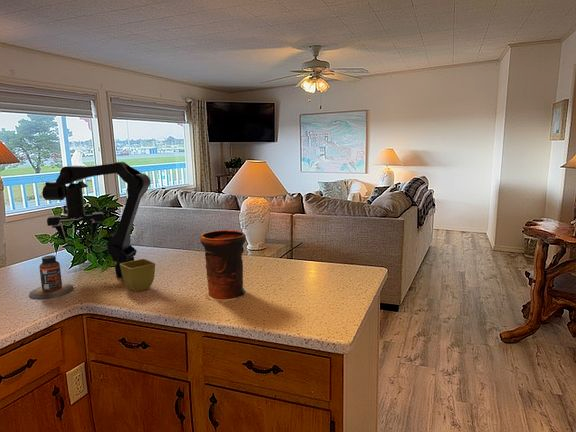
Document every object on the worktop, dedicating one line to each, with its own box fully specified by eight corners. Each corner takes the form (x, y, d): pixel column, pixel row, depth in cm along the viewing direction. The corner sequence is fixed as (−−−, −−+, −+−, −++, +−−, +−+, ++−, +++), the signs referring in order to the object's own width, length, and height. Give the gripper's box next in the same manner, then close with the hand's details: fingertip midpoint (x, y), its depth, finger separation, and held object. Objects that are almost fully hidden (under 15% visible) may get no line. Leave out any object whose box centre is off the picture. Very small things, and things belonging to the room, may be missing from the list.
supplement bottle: (49, 293, 133) (45, 260, 131) (38, 290, 136) (33, 258, 134) (66, 287, 139) (62, 255, 136) (55, 285, 141) (51, 253, 139)
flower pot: (146, 282, 145) (144, 258, 143) (157, 288, 139) (155, 262, 137) (121, 289, 139) (119, 263, 137) (132, 295, 133) (130, 268, 131)
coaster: (74, 282, 146) (74, 280, 146) (72, 294, 134) (72, 292, 134) (32, 288, 141) (31, 286, 140) (26, 301, 129) (26, 299, 129)
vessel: (198, 289, 137) (196, 231, 133) (239, 283, 142) (238, 227, 139) (207, 304, 124) (205, 240, 120) (252, 298, 129) (251, 236, 126)
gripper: (101, 195, 161) (105, 234, 164) (47, 199, 154) (52, 239, 156) (102, 199, 151) (106, 240, 154) (44, 203, 144) (49, 246, 146)
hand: (79, 241), depth 153 cm, fingers open, 9 cm apart
